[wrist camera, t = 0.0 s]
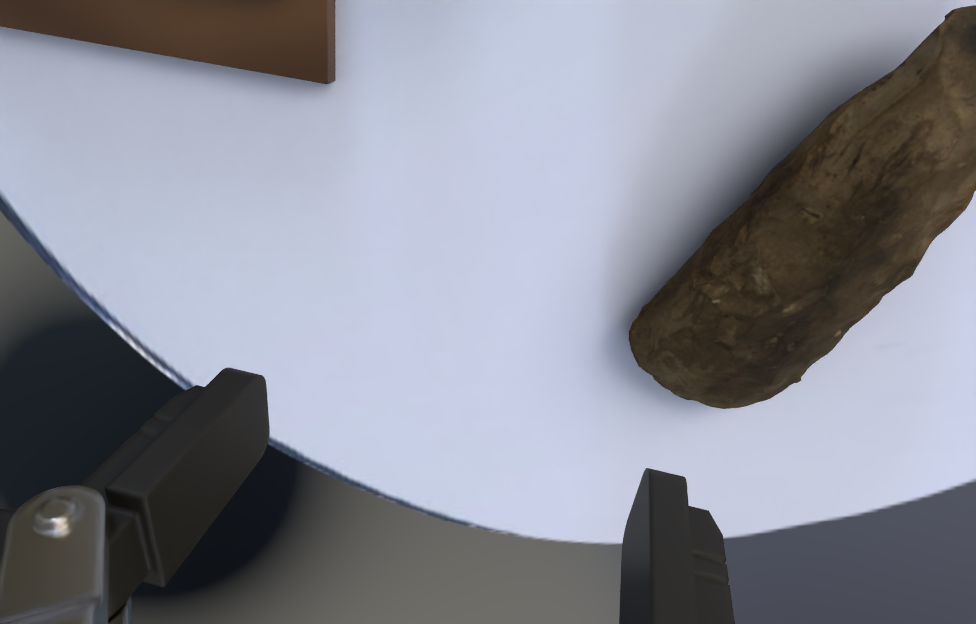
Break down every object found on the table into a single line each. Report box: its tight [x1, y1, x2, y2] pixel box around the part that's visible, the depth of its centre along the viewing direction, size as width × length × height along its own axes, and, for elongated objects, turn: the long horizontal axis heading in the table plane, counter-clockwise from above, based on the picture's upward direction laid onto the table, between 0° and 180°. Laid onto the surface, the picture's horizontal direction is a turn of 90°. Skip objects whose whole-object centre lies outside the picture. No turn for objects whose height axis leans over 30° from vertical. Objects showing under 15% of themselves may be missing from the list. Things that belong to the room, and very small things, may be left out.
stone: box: [629, 6, 976, 409], centre depth 36 cm, size 11×27×6 cm, turn 149°
